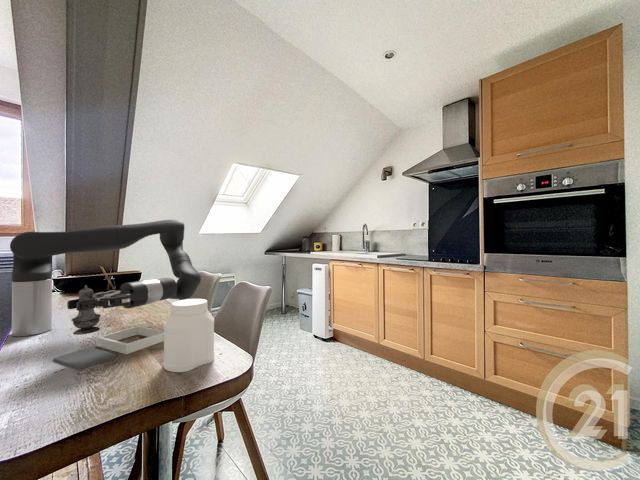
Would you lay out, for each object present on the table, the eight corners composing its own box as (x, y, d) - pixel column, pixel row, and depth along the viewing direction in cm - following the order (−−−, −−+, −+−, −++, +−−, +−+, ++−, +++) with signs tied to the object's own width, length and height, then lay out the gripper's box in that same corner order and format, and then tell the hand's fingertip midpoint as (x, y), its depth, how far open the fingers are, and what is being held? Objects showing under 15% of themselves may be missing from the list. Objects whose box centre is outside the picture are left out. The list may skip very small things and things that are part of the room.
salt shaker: (84, 335, 68) (83, 287, 68) (65, 334, 69) (64, 286, 69) (107, 328, 74) (106, 283, 74) (88, 326, 75) (88, 282, 75)
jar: (176, 376, 62) (176, 309, 62) (156, 364, 68) (156, 303, 68) (221, 358, 72) (221, 300, 72) (200, 349, 77) (200, 296, 77)
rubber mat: (53, 360, 70) (53, 357, 70) (90, 349, 78) (90, 346, 78) (79, 369, 65) (79, 367, 65) (116, 356, 73) (116, 354, 73)
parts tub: (96, 346, 80) (96, 337, 80) (138, 333, 91) (138, 325, 91) (126, 354, 74) (126, 345, 74) (167, 339, 85) (167, 331, 85)
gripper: (127, 279, 88) (57, 288, 72) (156, 282, 82) (88, 293, 66) (127, 303, 88) (58, 317, 72) (157, 307, 82) (88, 324, 66)
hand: (73, 305), depth 69 cm, fingers closed on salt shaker, 3 cm apart
